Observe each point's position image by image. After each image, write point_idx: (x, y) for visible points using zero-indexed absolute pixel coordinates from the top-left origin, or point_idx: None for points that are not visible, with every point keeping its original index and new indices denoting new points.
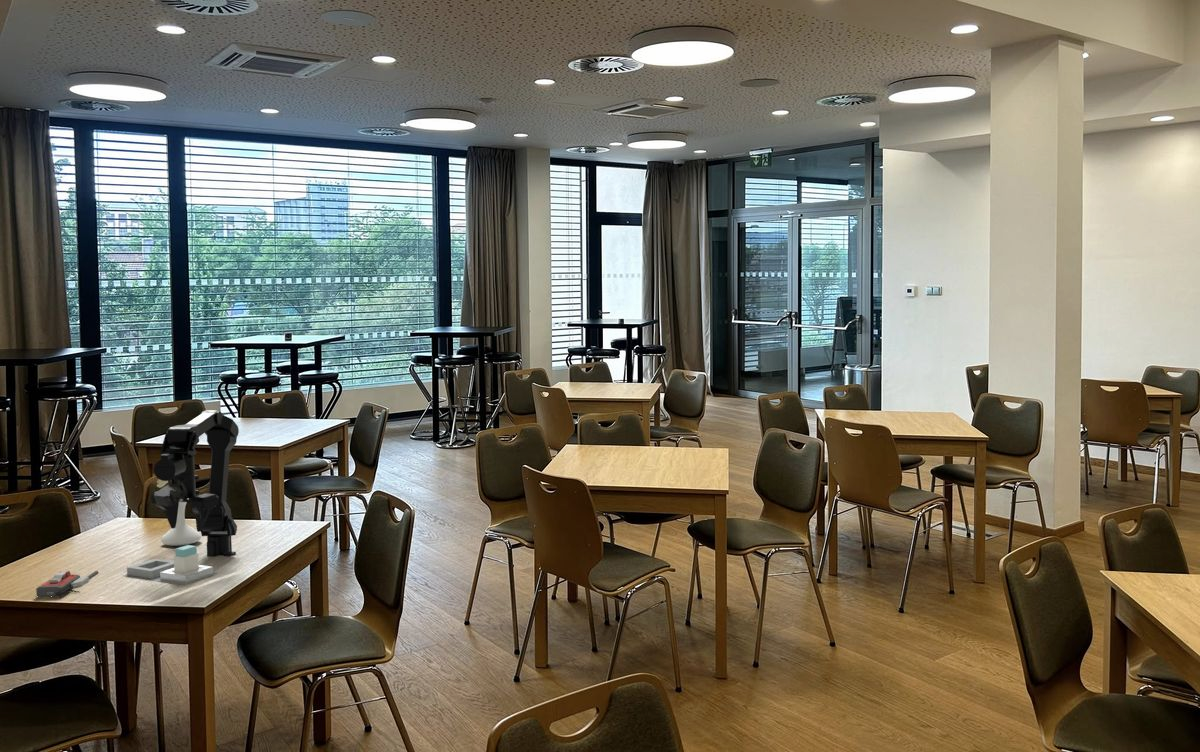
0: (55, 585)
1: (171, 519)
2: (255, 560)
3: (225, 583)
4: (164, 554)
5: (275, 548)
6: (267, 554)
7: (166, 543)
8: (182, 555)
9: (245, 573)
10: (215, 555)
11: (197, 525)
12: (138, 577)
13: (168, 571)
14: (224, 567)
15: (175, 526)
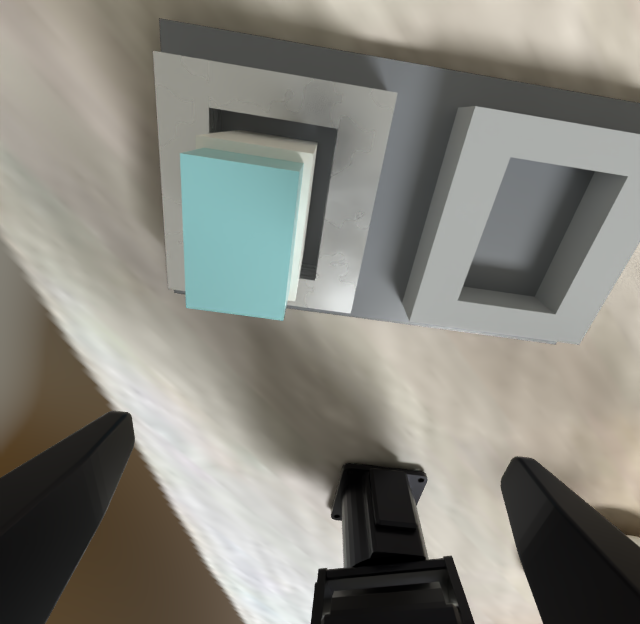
0: None
1: (593, 574)
2: (210, 473)
3: (35, 184)
4: (599, 471)
5: (252, 565)
6: (227, 524)
7: (635, 538)
8: (214, 150)
9: (100, 343)
10: (368, 475)
11: (46, 468)
12: (555, 101)
13: (349, 126)
14: (253, 390)
15: (504, 496)
